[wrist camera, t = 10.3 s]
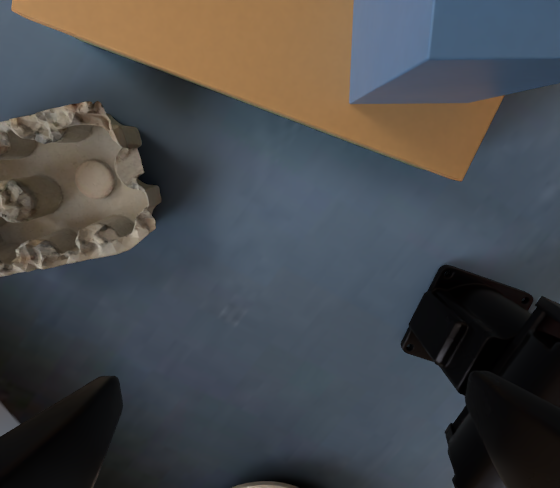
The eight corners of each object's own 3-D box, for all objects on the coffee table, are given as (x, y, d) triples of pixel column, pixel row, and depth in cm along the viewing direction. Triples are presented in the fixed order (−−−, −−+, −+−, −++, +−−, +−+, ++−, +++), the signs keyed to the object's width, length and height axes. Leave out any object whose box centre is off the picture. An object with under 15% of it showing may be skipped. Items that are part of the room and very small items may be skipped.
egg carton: (137, 102, 19) (101, 91, 15) (176, 231, 21) (153, 251, 17) (-44, 142, 19) (-125, 141, 15) (11, 264, 21) (-48, 291, 17)
